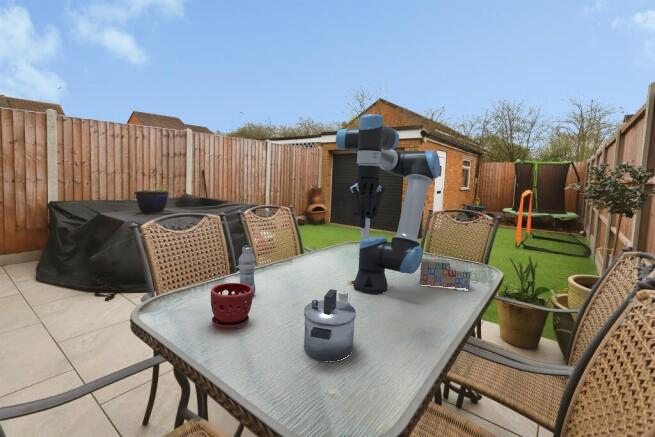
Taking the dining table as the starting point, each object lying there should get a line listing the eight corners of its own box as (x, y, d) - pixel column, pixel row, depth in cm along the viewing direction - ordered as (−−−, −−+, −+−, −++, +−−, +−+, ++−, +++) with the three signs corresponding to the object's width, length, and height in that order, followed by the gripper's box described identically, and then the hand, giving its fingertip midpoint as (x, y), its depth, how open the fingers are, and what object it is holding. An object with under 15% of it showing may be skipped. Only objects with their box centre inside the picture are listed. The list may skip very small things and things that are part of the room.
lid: (359, 308, 96) (360, 288, 96) (349, 329, 82) (351, 306, 82) (313, 301, 100) (314, 281, 99) (296, 320, 86) (296, 298, 85)
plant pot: (230, 337, 97) (230, 298, 95) (202, 325, 104) (201, 289, 102) (260, 321, 108) (261, 287, 106) (233, 311, 115) (233, 278, 113)
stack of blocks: (466, 287, 151) (469, 262, 149) (468, 292, 145) (471, 265, 143) (419, 282, 156) (421, 257, 155) (419, 286, 150) (421, 260, 149)
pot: (358, 337, 100) (360, 306, 98) (345, 371, 82) (346, 334, 80) (315, 329, 103) (316, 299, 102) (293, 361, 85) (294, 325, 84)
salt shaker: (341, 315, 115) (342, 289, 114) (350, 318, 113) (351, 292, 111) (334, 318, 112) (335, 292, 111) (343, 322, 110) (344, 295, 108)
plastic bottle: (251, 299, 126) (251, 249, 124) (235, 297, 127) (235, 247, 125) (258, 293, 132) (258, 245, 130) (242, 291, 134) (243, 244, 131)
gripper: (358, 164, 97) (354, 241, 100) (392, 166, 103) (387, 238, 106) (345, 164, 103) (341, 236, 106) (377, 166, 110) (373, 234, 113)
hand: (364, 237), depth 106 cm, fingers closed
